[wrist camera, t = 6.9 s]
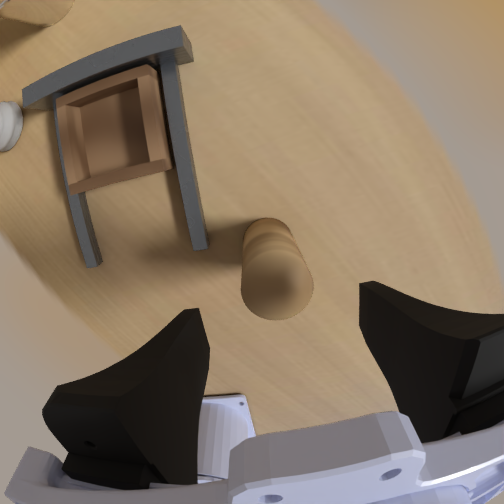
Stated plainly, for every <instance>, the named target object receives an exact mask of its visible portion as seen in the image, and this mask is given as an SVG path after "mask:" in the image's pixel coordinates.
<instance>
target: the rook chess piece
mask: <svg viewBox="0 0 504 504" xmlns="http://www.w3.org/2000/svg"><path fill="white" fill-rule="evenodd" d="M22 128H23V115H22V111H21V108H20V107H19V106H18V104H17V103H15V102H12V101H9V102H5V101H3V102H1V103H0V151H2V152H3V151H8V150H9V149H11V148H12V147H13V146H14V145H15V143H16V142H17V140H18V139H19V137H20V135H21V132H22Z"/></svg>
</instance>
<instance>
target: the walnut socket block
mask: <svg viewBox="0 0 504 504" xmlns="http://www.w3.org/2000/svg"><path fill="white" fill-rule="evenodd" d="M56 108H57V118H58V126H59V134H60V141H61V147H62V154H63V160H64V165H65V171H66V176H67V181H68V186H69V191H70V195H74V194H78V193H81V192H84V191H88V190H91V189H95V188H98V187H102V186H106V185H109V184H113V183H117V182H121V181H125V180H129V179H133V178H137V177H141V176H145V175H149V174H153V173H158V172H162V171H166V170H170V169H173V168H174V165H173V159H172V154H171V148H170V142H169V136H168V130H167V124H166V118H165V112H164V105H163V99H162V92H161V85H160V77H159V73H158V72H157V71H156V70H154V69H153V68H152V67H150V66H149V65H148V64H146V65H143V66H140V67H136V68H133V69H130V70H127V71H124V72H121V73H118V74H115V75H113V76H110V77H107V78H104V79H102V80H99V81H97V82H94V83H91V84H89V85H87V86H84V87H82V88H79V89H77V90H75V91H72V92H70V93H68V94H66V95H63V96H61V97H59V98H57V99H56Z"/></svg>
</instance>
